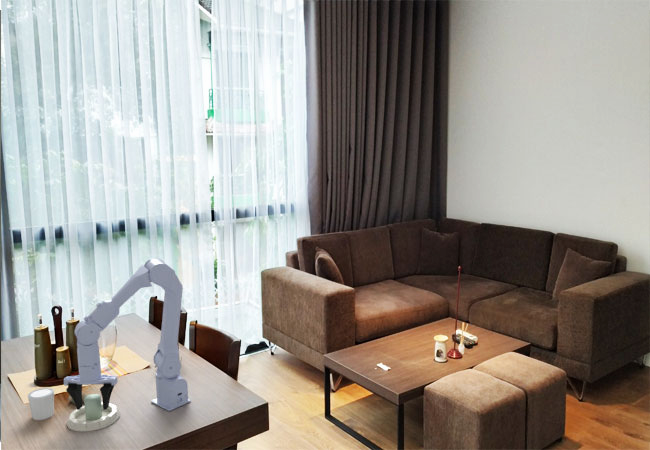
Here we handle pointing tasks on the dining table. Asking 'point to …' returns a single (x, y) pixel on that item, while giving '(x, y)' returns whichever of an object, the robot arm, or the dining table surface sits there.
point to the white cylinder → (41, 403)
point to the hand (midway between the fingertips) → (93, 408)
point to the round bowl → (82, 425)
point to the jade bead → (93, 407)
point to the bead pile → (82, 397)
